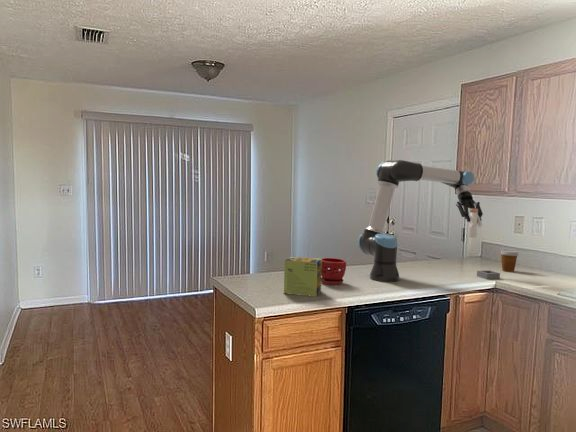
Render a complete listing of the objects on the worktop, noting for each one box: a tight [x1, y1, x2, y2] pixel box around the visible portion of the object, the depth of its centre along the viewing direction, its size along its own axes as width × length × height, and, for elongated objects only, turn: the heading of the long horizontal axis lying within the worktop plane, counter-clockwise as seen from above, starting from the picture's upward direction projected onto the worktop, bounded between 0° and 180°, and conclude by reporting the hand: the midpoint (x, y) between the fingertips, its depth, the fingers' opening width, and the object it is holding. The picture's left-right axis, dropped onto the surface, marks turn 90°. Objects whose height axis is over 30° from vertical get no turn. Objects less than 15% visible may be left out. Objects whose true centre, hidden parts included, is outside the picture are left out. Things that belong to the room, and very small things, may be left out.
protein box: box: [283, 256, 322, 297], centre depth 201 cm, size 10×15×16 cm
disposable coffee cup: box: [500, 249, 519, 273], centre depth 262 cm, size 10×10×12 cm
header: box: [476, 269, 501, 280], centre depth 238 cm, size 8×8×4 cm
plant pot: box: [321, 257, 347, 286], centre depth 222 cm, size 13×13×12 cm
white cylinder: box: [468, 207, 478, 238], centre depth 247 cm, size 4×4×16 cm
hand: (476, 225), depth 243 cm, fingers closed on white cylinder, 4 cm apart
